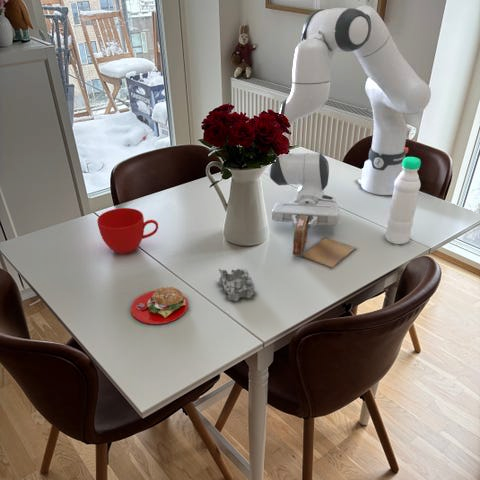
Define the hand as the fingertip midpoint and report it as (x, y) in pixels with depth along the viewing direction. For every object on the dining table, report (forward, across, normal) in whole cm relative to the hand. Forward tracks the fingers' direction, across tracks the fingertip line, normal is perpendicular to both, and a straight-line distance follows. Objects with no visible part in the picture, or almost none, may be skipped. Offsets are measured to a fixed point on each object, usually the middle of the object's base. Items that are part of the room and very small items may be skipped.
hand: (303, 225), depth 146 cm
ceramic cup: (+12, -49, +5) cm, 51 cm away
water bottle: (-8, +28, +7) cm, 30 cm away
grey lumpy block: (+27, -14, +6) cm, 31 cm away
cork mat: (+4, +8, +6) cm, 11 cm away
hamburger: (+38, -31, +6) cm, 50 cm away
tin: (+4, -1, +5) cm, 7 cm away
